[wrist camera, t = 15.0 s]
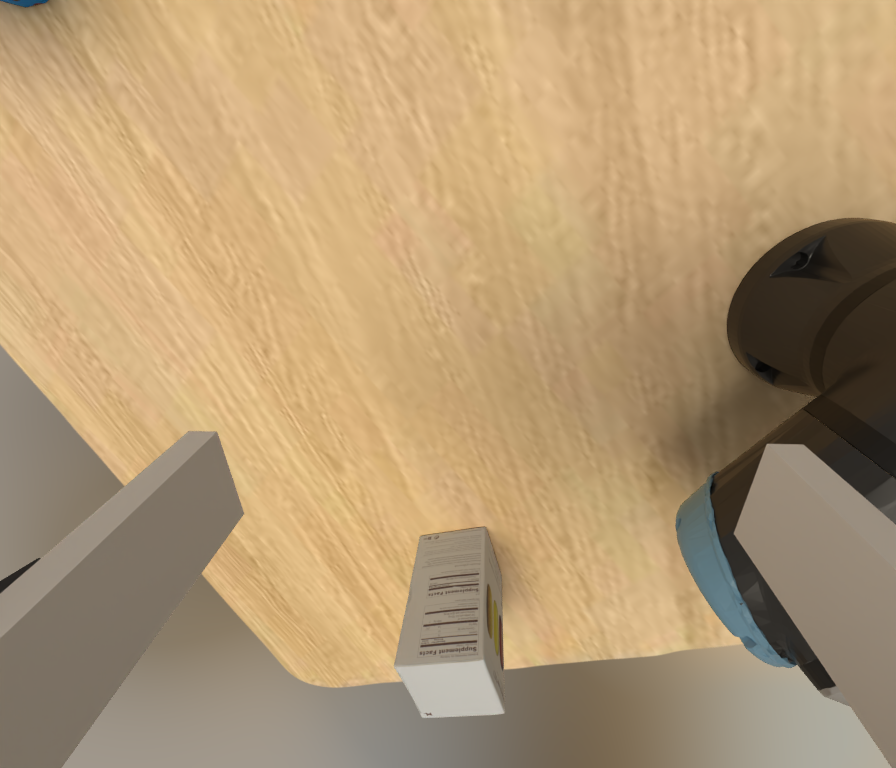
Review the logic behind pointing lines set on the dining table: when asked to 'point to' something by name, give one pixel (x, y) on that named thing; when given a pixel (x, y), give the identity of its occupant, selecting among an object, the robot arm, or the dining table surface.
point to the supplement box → (454, 627)
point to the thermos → (25, 2)
